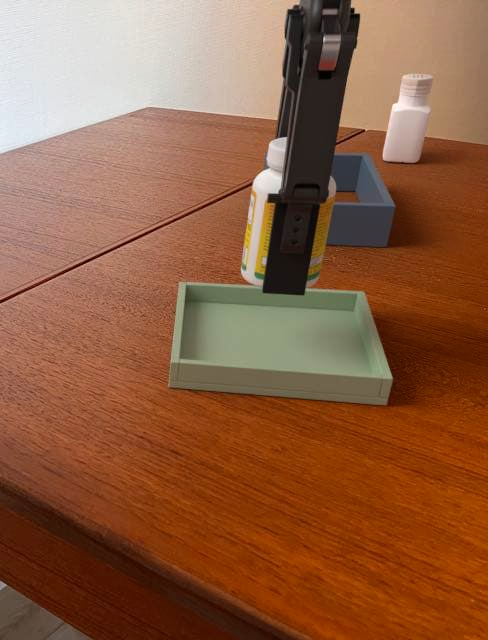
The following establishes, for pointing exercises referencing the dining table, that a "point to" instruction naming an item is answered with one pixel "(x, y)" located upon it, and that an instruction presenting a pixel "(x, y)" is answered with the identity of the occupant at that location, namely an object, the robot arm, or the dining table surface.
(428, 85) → the salt shaker
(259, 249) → the supplement bottle
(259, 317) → the tray
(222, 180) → the dining table surface
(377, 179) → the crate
